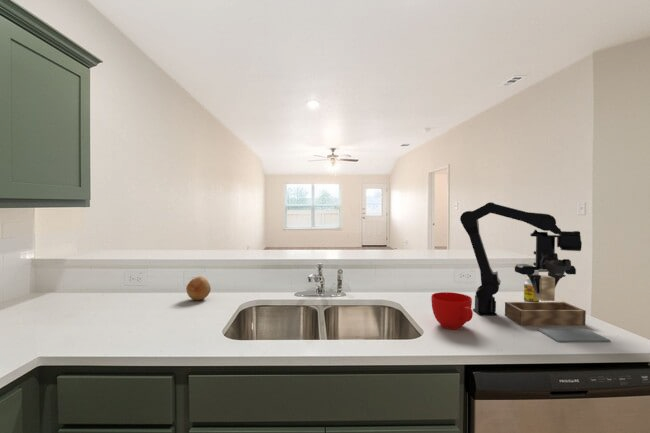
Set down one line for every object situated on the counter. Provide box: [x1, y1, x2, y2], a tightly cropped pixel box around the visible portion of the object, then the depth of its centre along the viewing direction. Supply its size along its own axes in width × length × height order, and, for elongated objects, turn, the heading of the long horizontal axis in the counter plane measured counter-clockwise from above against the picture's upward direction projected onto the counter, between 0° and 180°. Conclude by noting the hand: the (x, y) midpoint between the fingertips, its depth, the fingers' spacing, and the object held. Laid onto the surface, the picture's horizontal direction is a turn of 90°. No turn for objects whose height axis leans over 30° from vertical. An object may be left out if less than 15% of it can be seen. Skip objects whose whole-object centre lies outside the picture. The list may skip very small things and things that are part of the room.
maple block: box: [534, 274, 556, 302], centre depth 129 cm, size 4×4×8 cm
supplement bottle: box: [523, 276, 540, 302], centre depth 152 cm, size 6×6×10 cm
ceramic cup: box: [430, 291, 473, 330], centre depth 122 cm, size 13×17×10 cm
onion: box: [185, 275, 211, 302], centre depth 157 cm, size 10×10×10 cm
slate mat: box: [537, 327, 611, 343], centre depth 115 cm, size 16×10×1 cm, turn 91°
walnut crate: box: [504, 301, 587, 327], centre depth 129 cm, size 22×11×5 cm, turn 91°
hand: (544, 293), depth 129 cm, fingers closed on maple block, 4 cm apart
